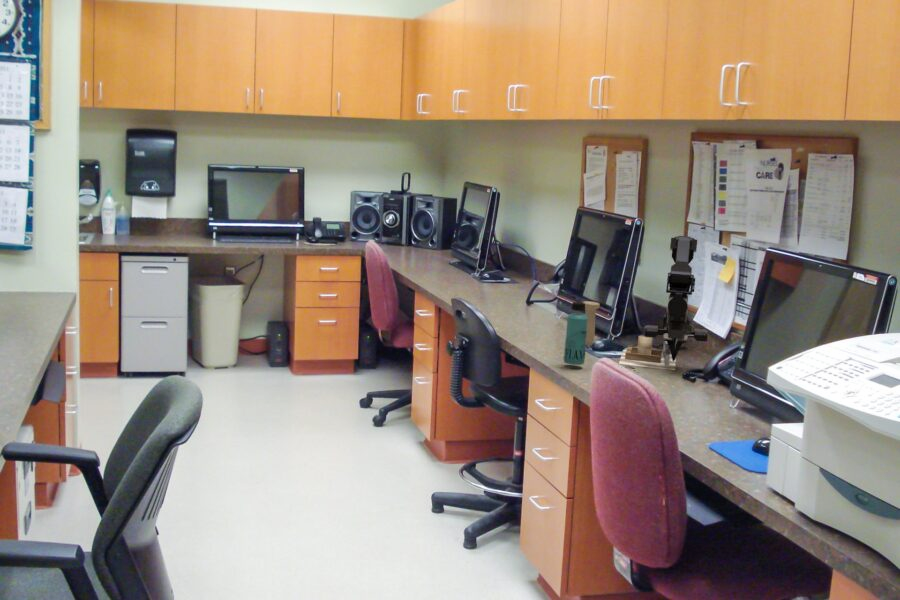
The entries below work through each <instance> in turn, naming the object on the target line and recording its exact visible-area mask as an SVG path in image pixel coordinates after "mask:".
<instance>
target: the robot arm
mask: <svg viewBox="0 0 900 600" xmlns="http://www.w3.org/2000/svg"><path fill="white" fill-rule="evenodd" d="M697 246H698V239H696V238H694V237H691V236H688V235H687V236H686V235H678V236H676V235H675V236H674V237H670V245H669V250H670V251H671V259H672V260H673V264H672V265H671V266H670V272H667V280H666V289H665V293H666V294H669V295H668V303H667V307H666V313H664V314H663V320H662V321H663V322H662V328H659V326H658V325H653V324H652V325H651V324H647V325H645V326H644V332H643V333H644V335H643V336H644V337H653V339H655V338H657V336H663V342H664V341H667V343H668V345H669V352H670V355H671V356H672V360H673V361H674V360H675V358H676V359H677V355H678V354H679V351H680V350H682V349H683V344H685V343H688V338H694V339H695V340H696V342H708V331H707V330H706V329H705V328H702V329H701V328H692V327H693V324H692V321H691V319H690V316H688V313H689V310H688V306H689V303H688V302H689V296H690V295H691V296H692V295H693V293H694V292H695V286H696V277H695V275H694V274H692V271H693V267H692V266H691V265H690V263H691V262H692V261H693V260H694V256H695V255H694V254H695V253H697V248H698V247H697Z"/></svg>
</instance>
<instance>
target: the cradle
mask: <svg viewBox="0 0 900 600" xmlns="http://www.w3.org/2000/svg"><path fill="white" fill-rule="evenodd" d="M637 349H638V346H629V345H628V346H627V349H623V350H622V353H621V354H620V355H621V356H620V359H619V362H618V365H619V364H621V365H623V366H625V367H626V369H636V368H635V367H643V368H644V367H645V368H652V369H662V370H670V371H671V370H672V371H675V370H676V361H677V360H676V359H677V357H676V358H675V360H674V361H673V360H672V356H671V354H670V358H669V365H665V362H664V355H662V354H663V349H658V348H657V349H656V348H652V350H651V355H648V354H639V353H637ZM633 366H635V367H633Z"/></svg>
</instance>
